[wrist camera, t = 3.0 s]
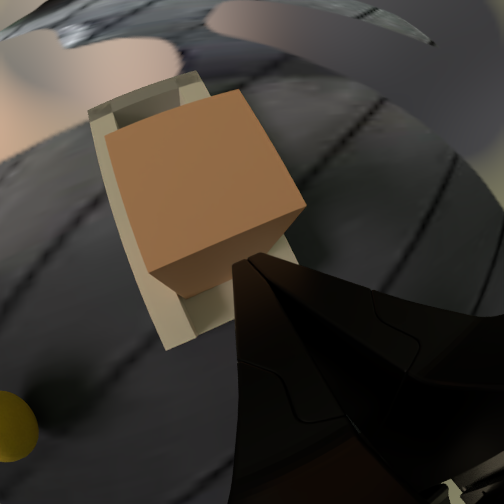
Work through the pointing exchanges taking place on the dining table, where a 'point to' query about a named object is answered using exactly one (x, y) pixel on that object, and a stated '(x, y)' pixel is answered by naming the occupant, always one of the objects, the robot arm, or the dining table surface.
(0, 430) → the lemon
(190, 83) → the chute
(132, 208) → the block
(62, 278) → the dining table surface
